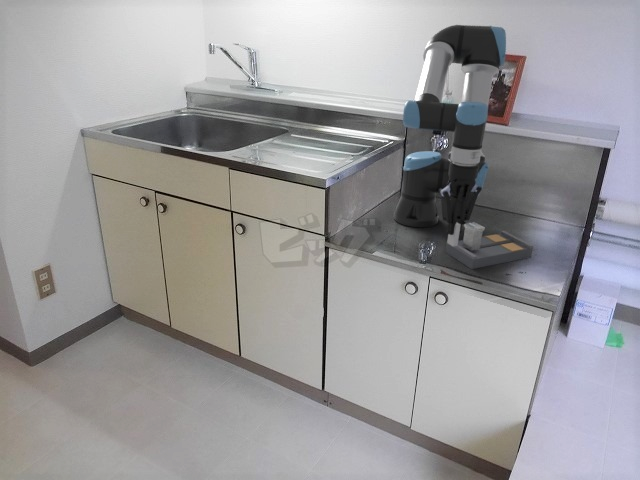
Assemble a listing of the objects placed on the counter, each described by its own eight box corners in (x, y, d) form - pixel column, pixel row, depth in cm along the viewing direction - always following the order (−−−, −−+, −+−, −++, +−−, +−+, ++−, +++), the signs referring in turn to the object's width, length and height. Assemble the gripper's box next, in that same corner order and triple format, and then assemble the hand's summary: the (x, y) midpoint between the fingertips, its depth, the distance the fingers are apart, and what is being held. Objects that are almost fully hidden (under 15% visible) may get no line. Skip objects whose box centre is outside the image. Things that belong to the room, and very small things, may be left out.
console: (445, 252, 154) (446, 240, 152) (502, 241, 162) (504, 230, 161) (471, 269, 144) (473, 256, 142) (530, 257, 152) (533, 245, 151)
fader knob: (460, 245, 150) (464, 222, 147) (470, 243, 151) (474, 221, 149) (471, 251, 146) (474, 228, 143) (481, 249, 148) (485, 227, 145)
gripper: (453, 168, 130) (441, 253, 139) (493, 164, 135) (479, 246, 145) (435, 161, 136) (425, 242, 146) (474, 157, 141) (462, 236, 151)
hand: (452, 244), depth 145 cm, fingers closed
